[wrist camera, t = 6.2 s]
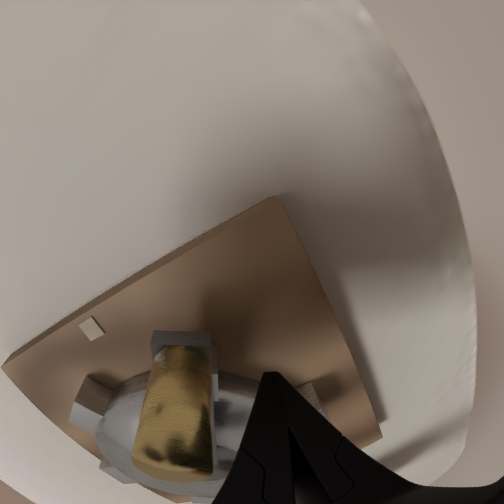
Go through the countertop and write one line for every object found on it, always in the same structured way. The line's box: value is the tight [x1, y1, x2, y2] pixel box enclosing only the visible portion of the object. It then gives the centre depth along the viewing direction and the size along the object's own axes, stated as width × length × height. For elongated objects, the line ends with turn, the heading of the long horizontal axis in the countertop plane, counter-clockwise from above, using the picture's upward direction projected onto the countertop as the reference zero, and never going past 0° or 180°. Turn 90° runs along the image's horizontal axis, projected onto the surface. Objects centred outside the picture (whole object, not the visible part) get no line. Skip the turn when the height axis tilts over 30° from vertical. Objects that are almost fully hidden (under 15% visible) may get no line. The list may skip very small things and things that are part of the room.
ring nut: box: [69, 330, 332, 504], centre depth 11 cm, size 14×17×7 cm
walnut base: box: [1, 196, 383, 503], centre depth 15 cm, size 20×20×2 cm
